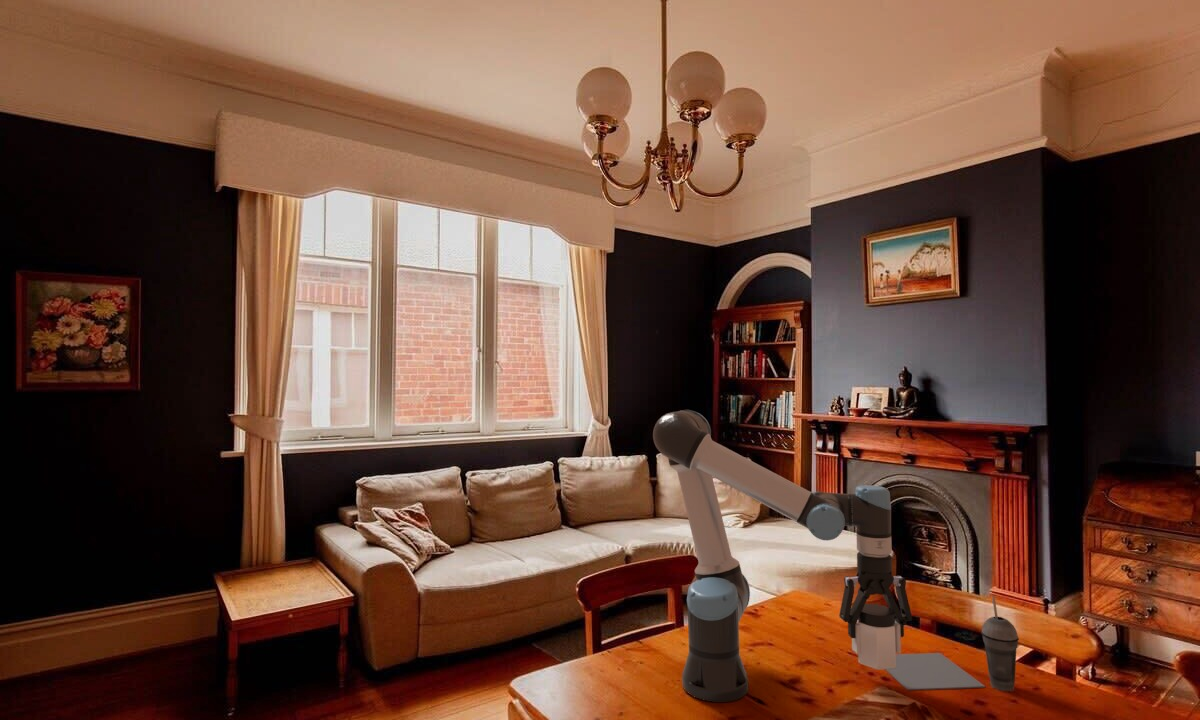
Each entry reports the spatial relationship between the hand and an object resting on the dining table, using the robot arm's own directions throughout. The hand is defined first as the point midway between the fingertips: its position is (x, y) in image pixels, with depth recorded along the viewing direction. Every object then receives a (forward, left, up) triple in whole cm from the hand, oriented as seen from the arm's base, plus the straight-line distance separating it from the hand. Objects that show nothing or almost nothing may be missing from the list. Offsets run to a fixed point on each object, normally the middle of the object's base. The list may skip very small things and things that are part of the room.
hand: (876, 651), depth 145 cm
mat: (+14, +6, -8) cm, 17 cm away
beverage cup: (+27, -3, -8) cm, 29 cm away
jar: (0, 0, -3) cm, 3 cm away
